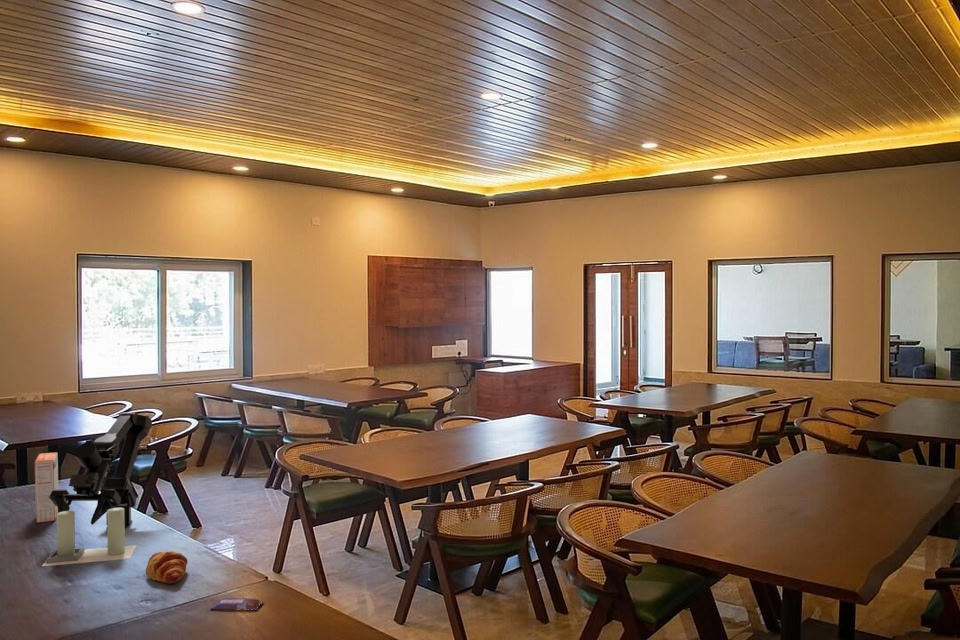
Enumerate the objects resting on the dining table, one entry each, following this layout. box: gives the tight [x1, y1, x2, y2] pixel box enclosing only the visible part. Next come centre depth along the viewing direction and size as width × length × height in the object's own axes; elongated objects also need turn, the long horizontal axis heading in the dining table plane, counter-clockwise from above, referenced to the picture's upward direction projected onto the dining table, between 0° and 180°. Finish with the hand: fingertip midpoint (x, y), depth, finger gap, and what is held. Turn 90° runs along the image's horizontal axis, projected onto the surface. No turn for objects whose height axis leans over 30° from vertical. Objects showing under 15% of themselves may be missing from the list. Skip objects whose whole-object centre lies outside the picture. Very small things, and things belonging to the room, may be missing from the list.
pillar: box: [56, 510, 76, 557], centre depth 208 cm, size 4×4×12 cm
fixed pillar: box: [106, 508, 126, 556], centre depth 211 cm, size 4×4×12 cm
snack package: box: [209, 597, 262, 611], centre depth 176 cm, size 12×2×5 cm
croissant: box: [145, 550, 188, 584], centre depth 197 cm, size 21×10×8 cm, turn 37°
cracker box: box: [34, 451, 59, 524], centre depth 251 cm, size 14×6×21 cm, turn 25°
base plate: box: [41, 544, 138, 567], centre depth 210 cm, size 22×12×2 cm, turn 106°
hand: (75, 524), depth 213 cm, fingers open, 9 cm apart
